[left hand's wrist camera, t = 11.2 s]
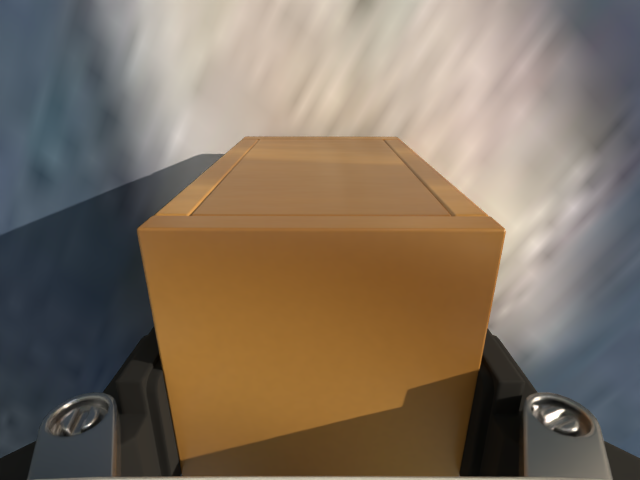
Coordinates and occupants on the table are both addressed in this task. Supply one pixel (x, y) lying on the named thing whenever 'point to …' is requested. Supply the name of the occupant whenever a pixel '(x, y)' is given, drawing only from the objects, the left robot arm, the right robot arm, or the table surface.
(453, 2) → the table surface
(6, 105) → the table surface
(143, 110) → the table surface
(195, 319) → the box
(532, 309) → the table surface
